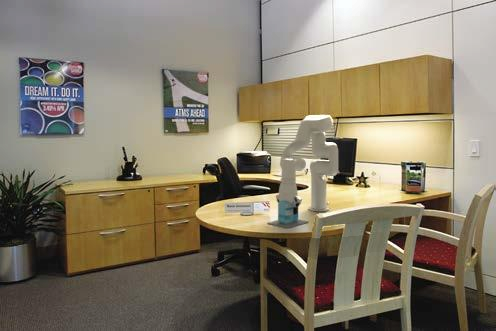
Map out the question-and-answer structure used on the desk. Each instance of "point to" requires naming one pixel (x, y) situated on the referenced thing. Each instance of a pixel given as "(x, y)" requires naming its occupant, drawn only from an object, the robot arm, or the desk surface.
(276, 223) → the desk mat
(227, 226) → the desk surface
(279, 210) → the teal rounded box
